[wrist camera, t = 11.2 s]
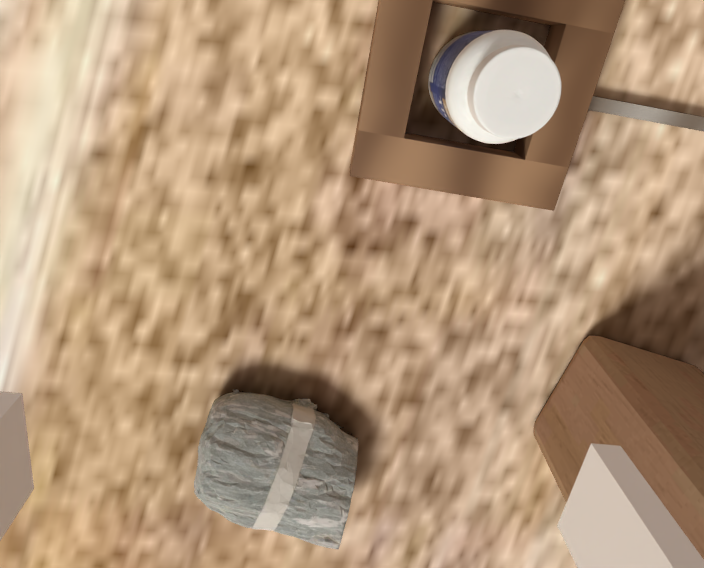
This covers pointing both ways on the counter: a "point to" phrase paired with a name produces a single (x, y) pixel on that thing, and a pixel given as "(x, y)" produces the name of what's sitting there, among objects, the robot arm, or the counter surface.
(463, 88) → the pill bottle
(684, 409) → the wooden block
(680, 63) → the counter surface
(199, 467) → the decorative stone
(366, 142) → the brown square frame
